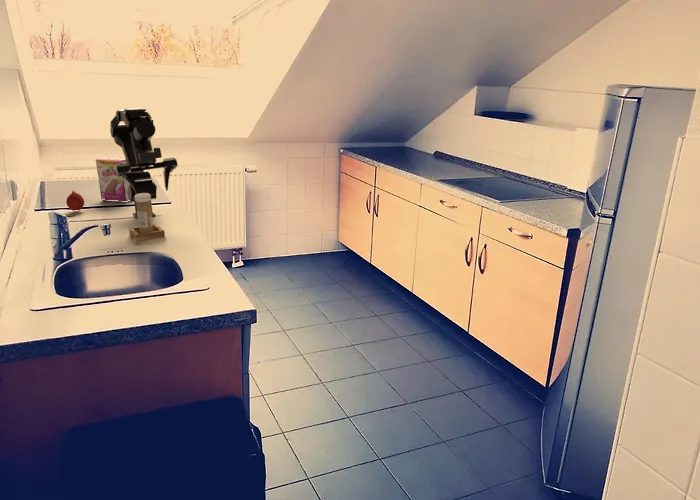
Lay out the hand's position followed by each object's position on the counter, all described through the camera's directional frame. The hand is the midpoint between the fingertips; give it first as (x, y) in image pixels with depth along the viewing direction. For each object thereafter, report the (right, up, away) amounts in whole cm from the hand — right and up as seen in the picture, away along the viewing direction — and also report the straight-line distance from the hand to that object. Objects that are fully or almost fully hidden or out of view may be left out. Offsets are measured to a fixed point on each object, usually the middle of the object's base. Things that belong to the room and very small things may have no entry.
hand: (152, 192), depth 186 cm
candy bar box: (-26, 0, +35) cm, 44 cm away
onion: (-34, -5, +20) cm, 40 cm away
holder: (0, -15, -6) cm, 16 cm away
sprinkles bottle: (0, -14, -6) cm, 16 cm away
